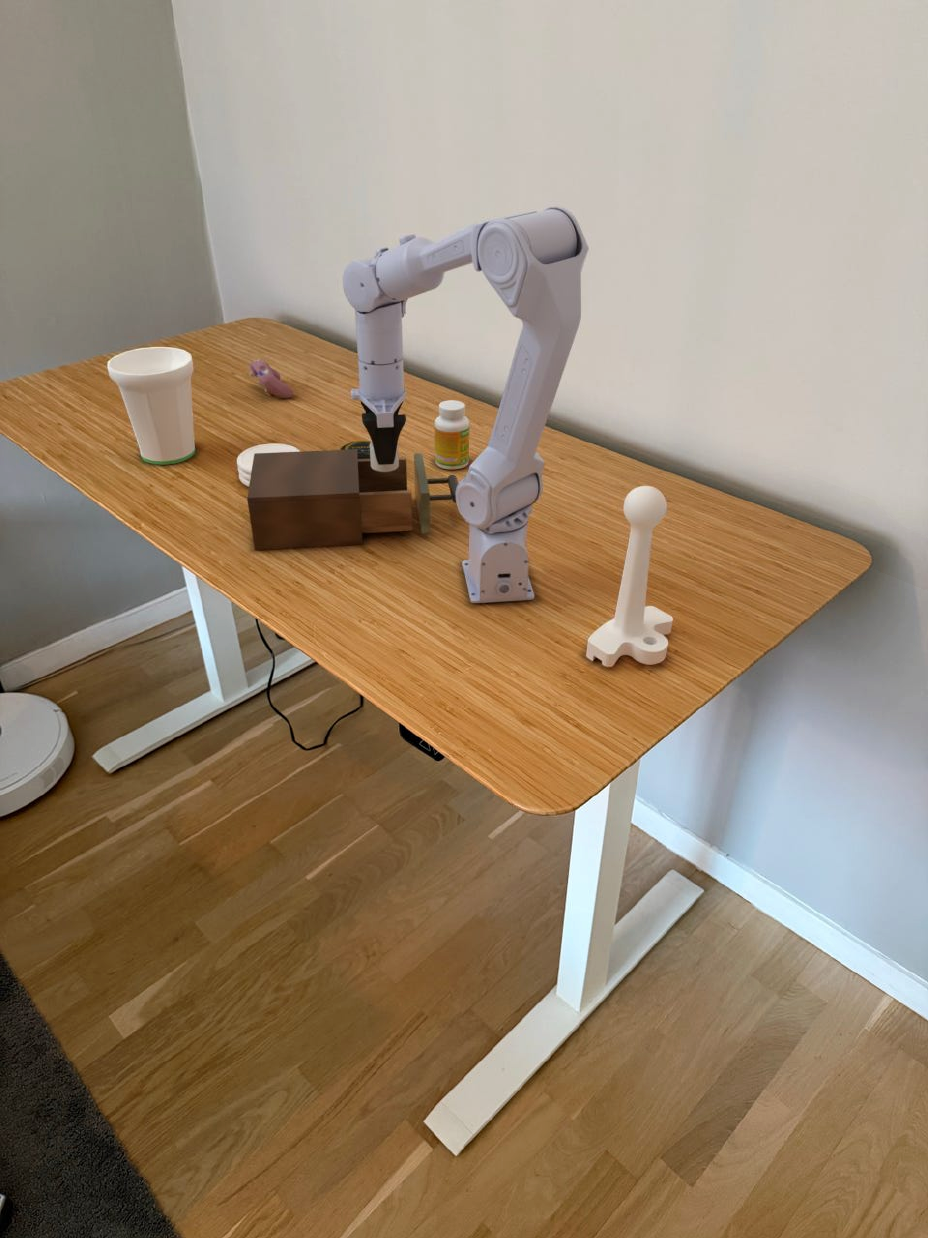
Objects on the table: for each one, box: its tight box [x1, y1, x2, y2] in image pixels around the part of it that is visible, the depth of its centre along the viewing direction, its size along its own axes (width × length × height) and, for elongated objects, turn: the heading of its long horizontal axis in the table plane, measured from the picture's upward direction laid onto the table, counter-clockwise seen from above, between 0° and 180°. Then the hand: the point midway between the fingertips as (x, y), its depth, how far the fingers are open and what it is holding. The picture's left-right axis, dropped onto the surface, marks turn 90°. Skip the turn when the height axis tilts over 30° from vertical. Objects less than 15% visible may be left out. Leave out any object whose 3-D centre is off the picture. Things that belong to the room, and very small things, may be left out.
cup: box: [106, 346, 196, 466], centre depth 139 cm, size 12×12×15 cm
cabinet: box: [246, 449, 363, 551], centre depth 123 cm, size 14×13×8 cm
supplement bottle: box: [434, 399, 470, 470], centre depth 139 cm, size 5×5×10 cm
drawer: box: [357, 453, 459, 534], centre depth 124 cm, size 18×12×6 cm
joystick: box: [585, 485, 674, 668], centre depth 97 cm, size 11×8×20 cm
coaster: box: [236, 442, 301, 488], centre depth 136 cm, size 10×10×4 cm
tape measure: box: [339, 440, 372, 459], centre depth 138 cm, size 7×7×4 cm
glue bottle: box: [370, 441, 400, 472], centre depth 120 cm, size 4×4×4 cm
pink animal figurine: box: [248, 358, 294, 399], centre depth 163 cm, size 10×5×7 cm, turn 25°
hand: (384, 456), depth 120 cm, fingers closed on glue bottle, 4 cm apart
